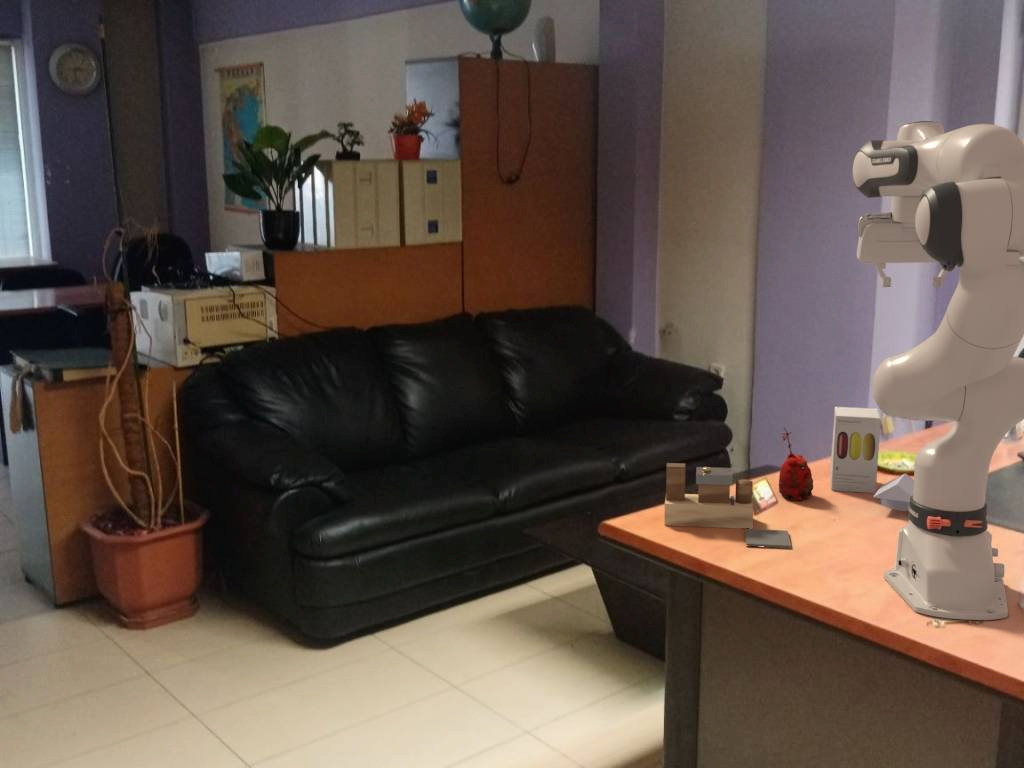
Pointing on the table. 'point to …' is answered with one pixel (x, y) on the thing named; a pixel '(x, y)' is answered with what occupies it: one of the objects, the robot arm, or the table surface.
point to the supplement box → (855, 449)
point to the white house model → (896, 493)
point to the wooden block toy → (706, 503)
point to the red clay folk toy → (795, 476)
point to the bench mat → (767, 538)
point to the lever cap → (714, 476)
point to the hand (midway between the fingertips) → (911, 286)
